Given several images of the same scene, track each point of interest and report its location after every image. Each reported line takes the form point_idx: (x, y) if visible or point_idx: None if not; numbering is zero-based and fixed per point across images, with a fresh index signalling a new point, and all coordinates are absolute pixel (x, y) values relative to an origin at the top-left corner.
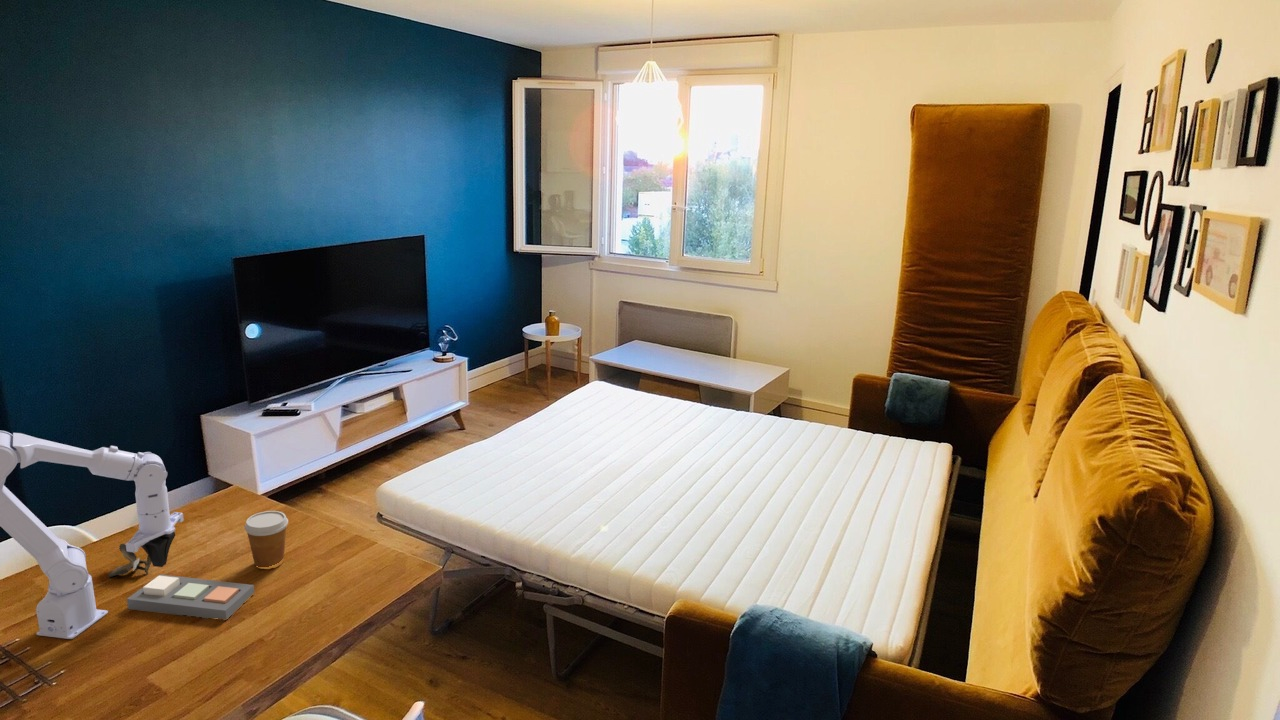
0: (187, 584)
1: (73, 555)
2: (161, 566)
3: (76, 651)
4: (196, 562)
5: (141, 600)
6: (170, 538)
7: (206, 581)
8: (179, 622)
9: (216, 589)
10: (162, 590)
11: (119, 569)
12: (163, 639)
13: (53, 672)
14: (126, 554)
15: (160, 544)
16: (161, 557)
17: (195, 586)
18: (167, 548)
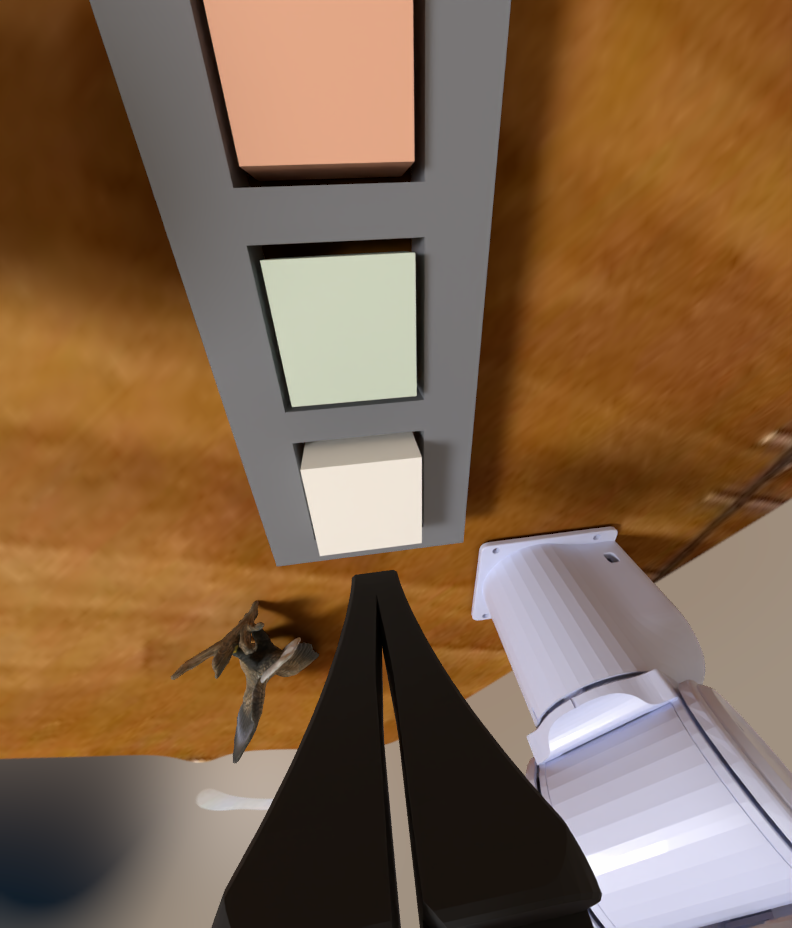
0: (308, 401)
1: (705, 912)
2: (397, 574)
3: (671, 476)
4: (88, 534)
5: (466, 493)
6: (349, 898)
7: (219, 330)
8: (520, 249)
9: (281, 144)
10: (420, 460)
11: (300, 666)
12: (657, 221)
13: (765, 455)
14: (261, 713)
15: (580, 869)
16: (424, 640)
17: (309, 340)
18: (357, 707)
